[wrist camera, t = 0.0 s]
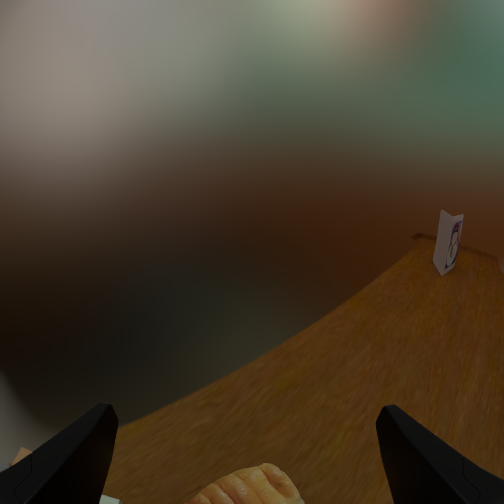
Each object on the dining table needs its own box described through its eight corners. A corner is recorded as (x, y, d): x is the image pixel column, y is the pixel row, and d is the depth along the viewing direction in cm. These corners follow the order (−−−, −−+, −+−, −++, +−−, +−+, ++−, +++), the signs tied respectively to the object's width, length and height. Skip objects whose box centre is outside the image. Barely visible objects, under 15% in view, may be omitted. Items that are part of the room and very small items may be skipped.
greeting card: (444, 277, 60) (455, 217, 55) (420, 268, 66) (429, 210, 61) (456, 267, 66) (466, 214, 61) (435, 260, 72) (443, 208, 67)
